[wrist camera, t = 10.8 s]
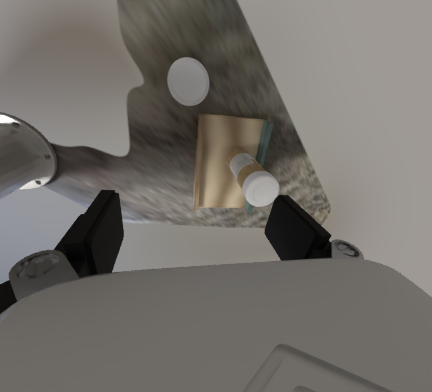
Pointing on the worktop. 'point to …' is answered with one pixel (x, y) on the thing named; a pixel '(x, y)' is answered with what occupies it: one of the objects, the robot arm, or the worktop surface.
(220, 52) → the worktop surface
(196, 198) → the shelf board
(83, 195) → the worktop surface
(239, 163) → the sprinkles bottle
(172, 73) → the supplement bottle
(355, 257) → the robot arm
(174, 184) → the worktop surface
